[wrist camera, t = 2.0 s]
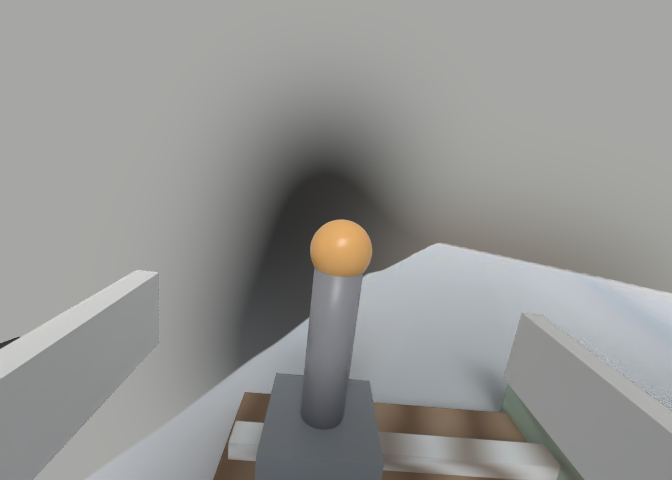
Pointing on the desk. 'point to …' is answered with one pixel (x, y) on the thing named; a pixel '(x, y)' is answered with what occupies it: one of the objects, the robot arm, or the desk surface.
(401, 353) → the desk surface
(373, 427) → the lever
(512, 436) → the track bed
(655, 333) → the desk surface
